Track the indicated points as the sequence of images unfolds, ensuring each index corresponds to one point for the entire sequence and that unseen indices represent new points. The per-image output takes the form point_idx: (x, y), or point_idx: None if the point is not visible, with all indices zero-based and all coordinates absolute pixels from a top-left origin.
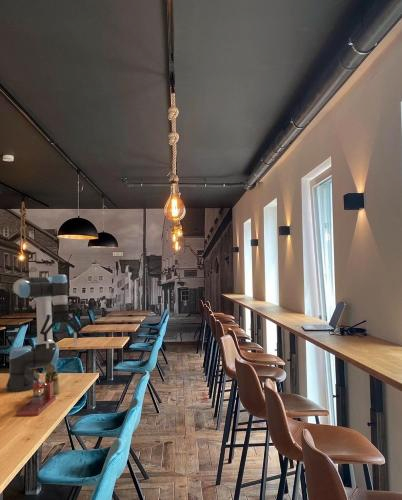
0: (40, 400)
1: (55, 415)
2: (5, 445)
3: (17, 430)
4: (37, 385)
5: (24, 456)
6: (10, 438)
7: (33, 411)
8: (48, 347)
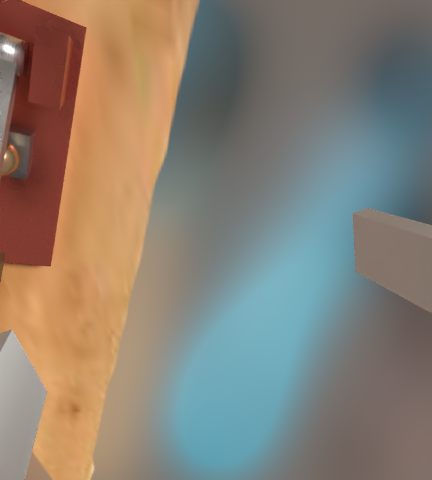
0: (28, 172)
1: (118, 267)
2: None
3: None
4: None
5: (89, 466)
6: None
7: (29, 263)
8: (38, 399)
